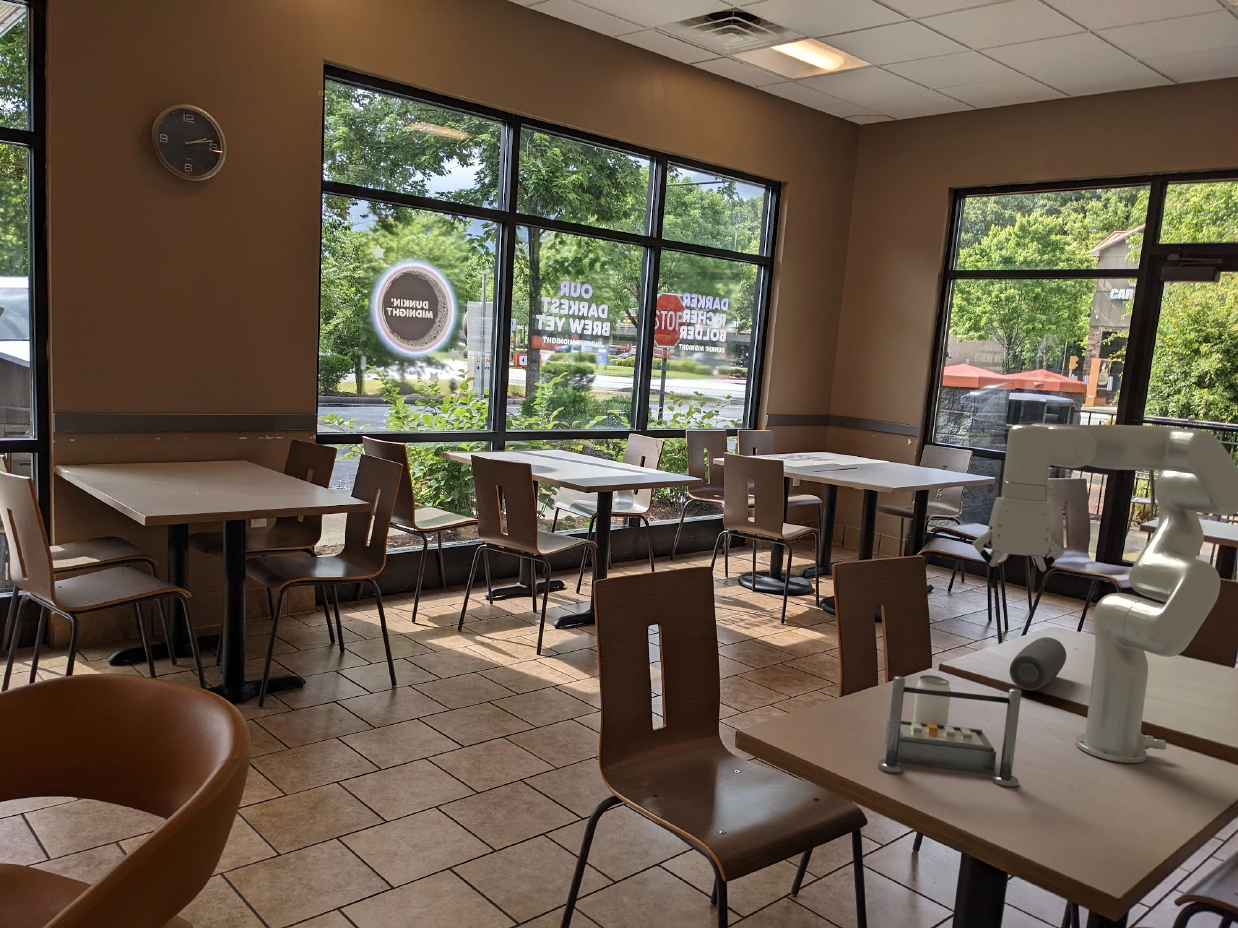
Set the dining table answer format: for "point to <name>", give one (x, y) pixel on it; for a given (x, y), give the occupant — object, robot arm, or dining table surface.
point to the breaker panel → (944, 747)
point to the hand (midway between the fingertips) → (1013, 588)
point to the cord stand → (899, 688)
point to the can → (932, 701)
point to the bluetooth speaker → (1038, 663)
